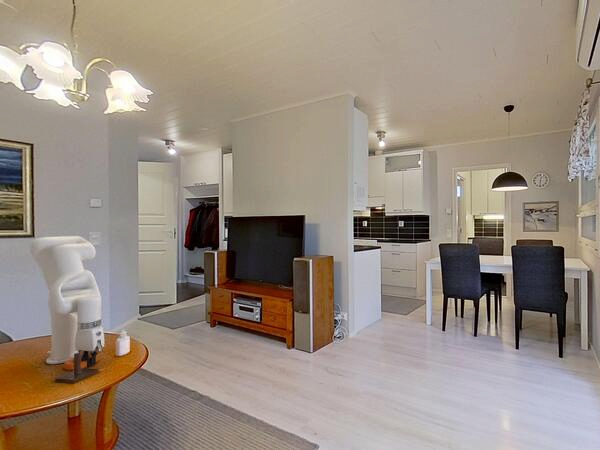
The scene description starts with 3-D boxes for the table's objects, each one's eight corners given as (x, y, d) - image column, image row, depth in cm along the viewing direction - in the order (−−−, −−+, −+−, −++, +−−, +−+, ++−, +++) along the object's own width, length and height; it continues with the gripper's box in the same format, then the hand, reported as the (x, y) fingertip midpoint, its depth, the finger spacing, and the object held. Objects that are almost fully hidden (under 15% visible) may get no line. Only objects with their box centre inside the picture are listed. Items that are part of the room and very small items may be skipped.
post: (54, 381, 123) (54, 357, 123) (80, 371, 132) (80, 348, 132) (73, 383, 122) (74, 358, 122) (98, 372, 131) (98, 349, 131)
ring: (58, 368, 133) (58, 363, 133) (84, 358, 143) (84, 353, 143) (77, 370, 132) (77, 365, 132) (102, 360, 142) (102, 355, 142)
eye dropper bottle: (131, 352, 151) (132, 328, 151) (116, 357, 146) (117, 332, 146) (128, 350, 153) (128, 327, 153) (113, 355, 148) (113, 330, 148)
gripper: (113, 323, 140) (113, 362, 140) (83, 320, 142) (83, 359, 142) (95, 328, 132) (94, 370, 133) (63, 326, 134) (63, 367, 134)
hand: (88, 364), depth 137 cm, fingers closed on ring, 2 cm apart
